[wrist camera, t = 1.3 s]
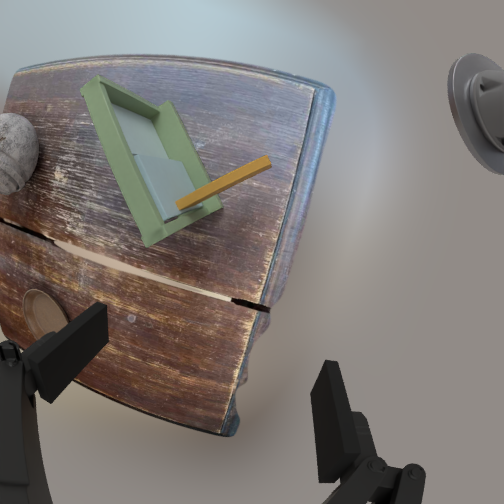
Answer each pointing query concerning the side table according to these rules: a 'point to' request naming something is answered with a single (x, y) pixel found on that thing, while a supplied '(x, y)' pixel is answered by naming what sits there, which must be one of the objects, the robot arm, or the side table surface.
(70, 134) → the side table surface
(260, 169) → the window pane
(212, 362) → the side table surface
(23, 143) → the decorative orb
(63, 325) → the saucer
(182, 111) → the side table surface
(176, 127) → the window frame
